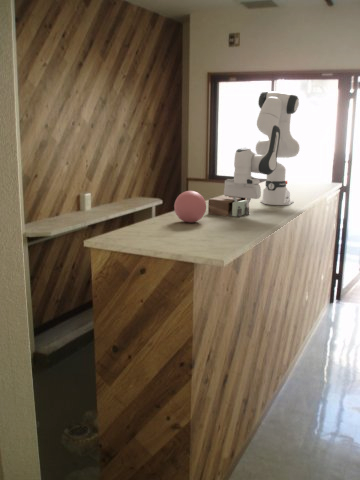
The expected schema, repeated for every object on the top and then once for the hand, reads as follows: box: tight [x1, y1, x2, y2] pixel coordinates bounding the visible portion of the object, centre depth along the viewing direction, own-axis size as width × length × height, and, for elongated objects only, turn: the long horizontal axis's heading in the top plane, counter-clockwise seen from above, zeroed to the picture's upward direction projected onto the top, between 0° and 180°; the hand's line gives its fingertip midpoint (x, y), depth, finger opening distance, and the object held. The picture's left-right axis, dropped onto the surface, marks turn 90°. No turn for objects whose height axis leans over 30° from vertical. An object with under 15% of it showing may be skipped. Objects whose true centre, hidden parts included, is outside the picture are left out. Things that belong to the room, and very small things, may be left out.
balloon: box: [173, 190, 207, 224], centre depth 238 cm, size 15×20×15 cm
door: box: [231, 200, 247, 217], centre depth 258 cm, size 12×3×7 cm, turn 144°
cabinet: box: [207, 195, 250, 218], centre depth 262 cm, size 14×18×8 cm
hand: (241, 206), depth 258 cm, fingers open, 4 cm apart
